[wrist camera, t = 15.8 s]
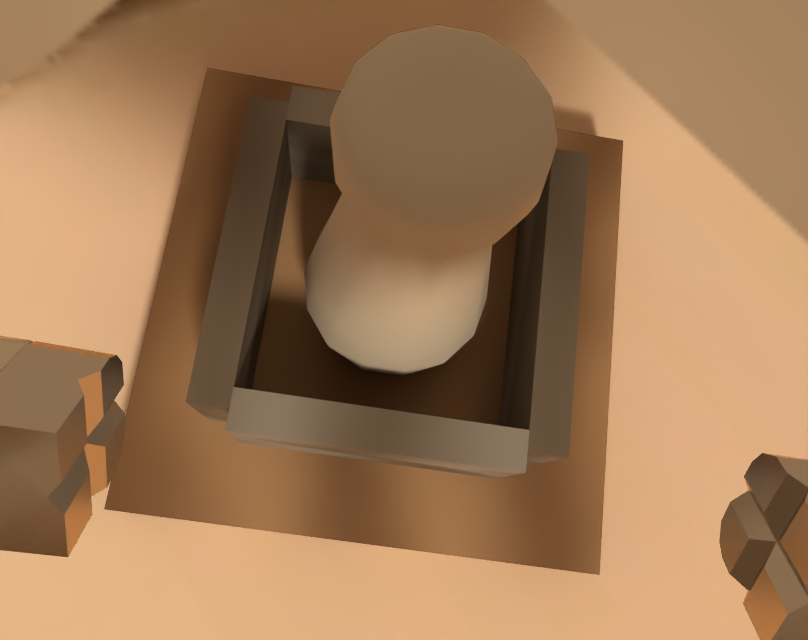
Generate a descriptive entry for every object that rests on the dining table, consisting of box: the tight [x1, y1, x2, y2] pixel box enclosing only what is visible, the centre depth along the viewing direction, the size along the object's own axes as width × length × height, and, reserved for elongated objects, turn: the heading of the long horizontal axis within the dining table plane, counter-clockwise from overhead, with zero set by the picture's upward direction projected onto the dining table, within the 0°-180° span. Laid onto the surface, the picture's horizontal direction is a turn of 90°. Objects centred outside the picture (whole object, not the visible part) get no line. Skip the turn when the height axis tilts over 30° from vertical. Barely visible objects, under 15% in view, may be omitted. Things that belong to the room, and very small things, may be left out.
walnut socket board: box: [104, 68, 623, 575], centre depth 24 cm, size 16×16×6 cm
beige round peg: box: [304, 25, 558, 376], centre depth 19 cm, size 6×6×13 cm
